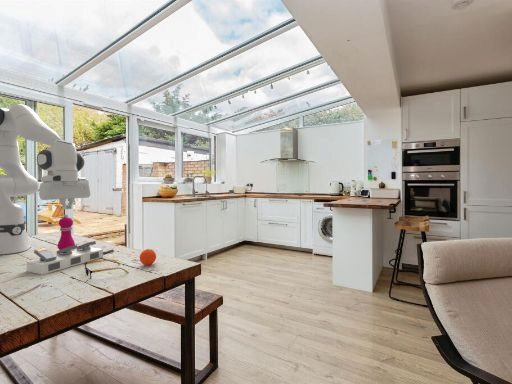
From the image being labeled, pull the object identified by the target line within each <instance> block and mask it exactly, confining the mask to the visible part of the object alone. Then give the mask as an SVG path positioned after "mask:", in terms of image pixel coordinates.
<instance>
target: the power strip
mask: <svg viewBox="0 0 512 384" xmlns="http://www.w3.org/2000/svg"><path fill="white" fill-rule="evenodd" d="M114 251H115V250H114V249H113V248H112V249H108V250H105V251H104V249H103V248H96V247H91V246H89V247H86V248H82V249H79V250H77V249H74V251H68V252H64V253H62V254H57V253H56V254H54V255H55V256H57V257H56V260H52V261H48V262H46V261H44V260H43V259H42V258H40V257H39V258H35V259H32V260H27V261H26V272H29V273H34V274H39V275H46V274H49V273H53V272H56V271H60V270H64V269H67V268H70V267H74V266H78V265H82V264H84V263H85V262H90V261H97V260H99V259H102V258H103V257H104V255H106V254H109V252H110V253H113V252H114Z"/></svg>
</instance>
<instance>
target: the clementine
mask: <svg viewBox="0 0 512 384" xmlns="http://www.w3.org/2000/svg"><path fill="white" fill-rule="evenodd" d="M156 252H157V254H158V251H156ZM156 252H155V249H154V248H147V249H144V250H143V251H141V252H140V254H139V261H140V263H141V264H143V265H145V266H150V265H153V264H154V263H155V261H156V259H157V254H156Z"/></svg>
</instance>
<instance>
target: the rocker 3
mask: <svg viewBox="0 0 512 384" xmlns="http://www.w3.org/2000/svg"><path fill="white" fill-rule="evenodd" d="M96 244H97V243H96V240H93V241H90V242H86V243H83V244H80V245H77V248H76V250H79V249H82V248H86V247H91V246H94V245H96Z"/></svg>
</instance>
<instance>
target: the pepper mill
mask: <svg viewBox="0 0 512 384" xmlns="http://www.w3.org/2000/svg"><path fill="white" fill-rule="evenodd" d="M73 225H74V220H73V219H72V218H71V217H69V215H68V214H66V213H65V214H63V217H62V218H60V219H59V220H58V226H59V227H60V228H59V231H60V237H59V240H58V243H57V249H58V250H61V249H64V248H67V247H70V246H75V245H76V243H75V241H74V238H73V236H72V230H73ZM74 250H75V249H74ZM74 250H71V251H74Z"/></svg>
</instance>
